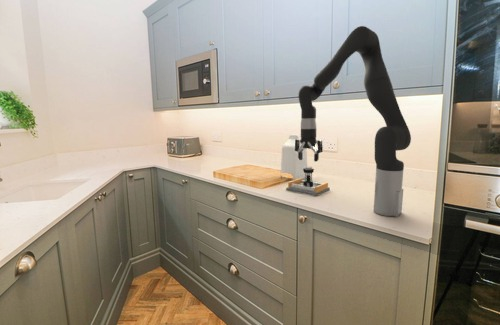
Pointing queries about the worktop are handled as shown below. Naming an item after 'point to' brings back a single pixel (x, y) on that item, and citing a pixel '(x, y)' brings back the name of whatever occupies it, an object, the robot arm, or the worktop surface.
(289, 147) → the milk
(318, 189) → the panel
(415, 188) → the worktop surface
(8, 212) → the worktop surface
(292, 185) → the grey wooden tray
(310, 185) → the dark piece
